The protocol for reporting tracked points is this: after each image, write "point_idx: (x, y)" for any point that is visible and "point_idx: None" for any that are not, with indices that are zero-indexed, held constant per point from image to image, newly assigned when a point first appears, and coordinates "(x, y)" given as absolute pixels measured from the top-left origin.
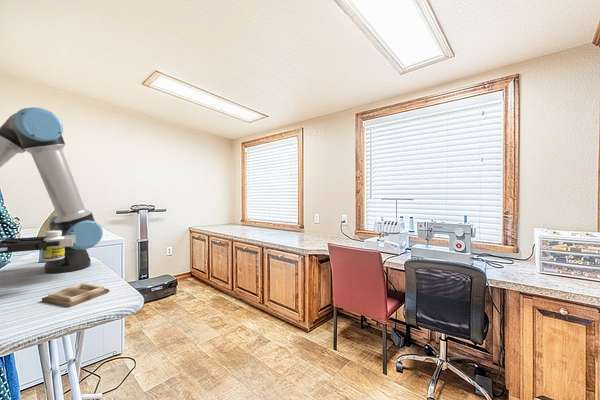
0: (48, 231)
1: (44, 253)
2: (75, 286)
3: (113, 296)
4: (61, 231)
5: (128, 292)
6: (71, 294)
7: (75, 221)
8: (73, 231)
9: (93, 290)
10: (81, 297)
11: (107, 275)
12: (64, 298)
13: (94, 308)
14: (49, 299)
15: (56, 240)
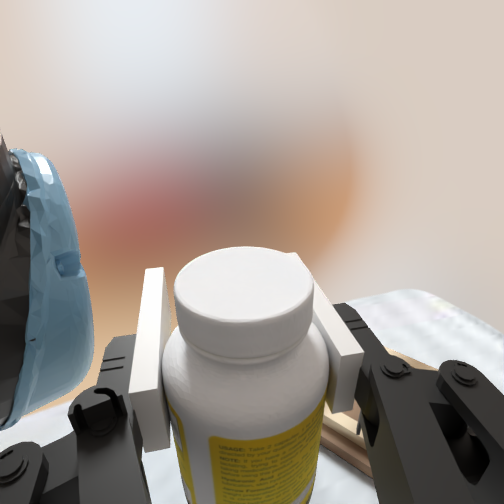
0: (242, 310)
1: (304, 487)
2: (347, 417)
3: (385, 326)
4: (239, 250)
5: (355, 306)
6: None
7: (7, 170)
8: (70, 264)
9: (392, 352)
10: None
11: None
12: None
13: (473, 343)
14: None
15: (330, 311)
